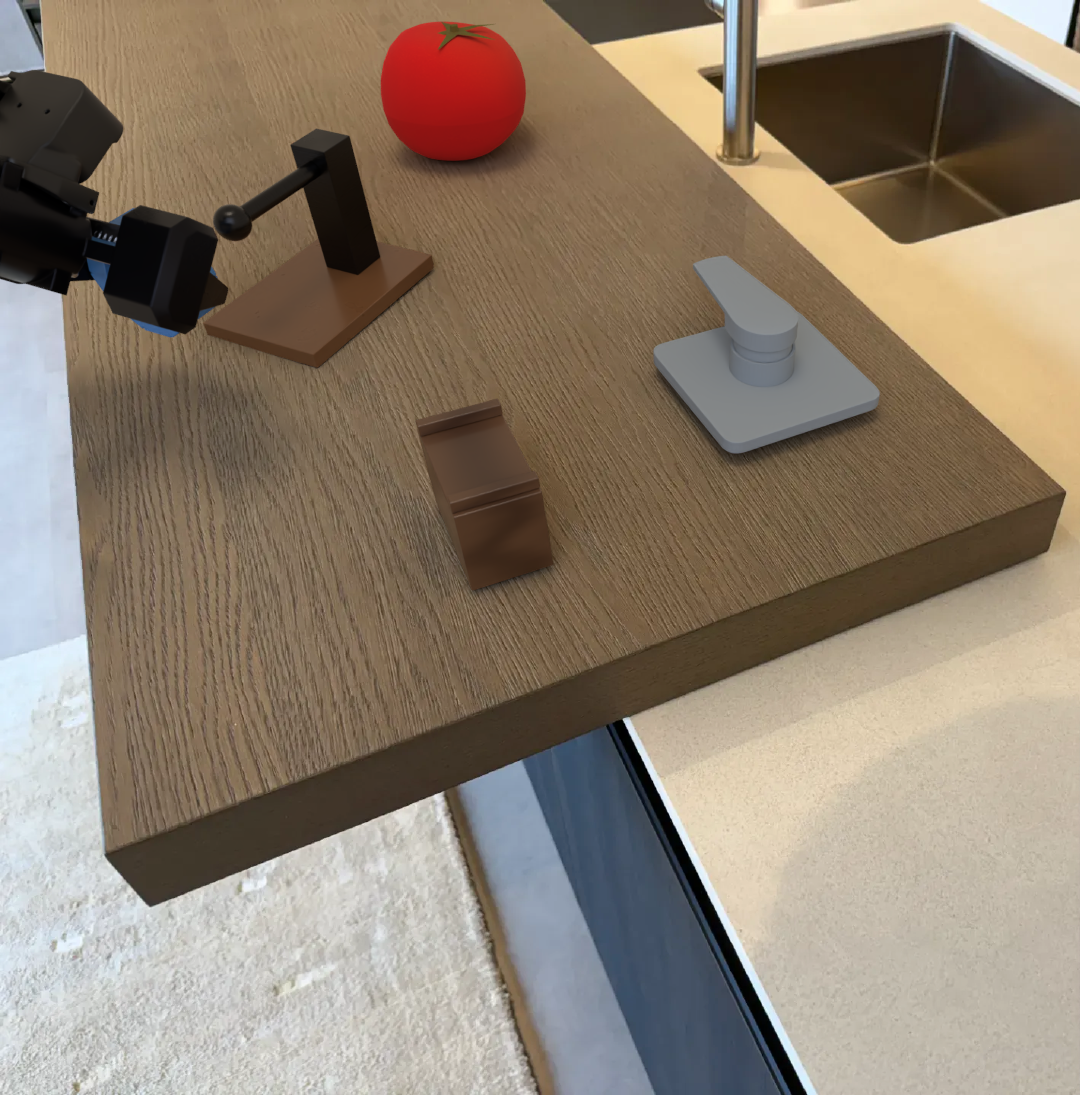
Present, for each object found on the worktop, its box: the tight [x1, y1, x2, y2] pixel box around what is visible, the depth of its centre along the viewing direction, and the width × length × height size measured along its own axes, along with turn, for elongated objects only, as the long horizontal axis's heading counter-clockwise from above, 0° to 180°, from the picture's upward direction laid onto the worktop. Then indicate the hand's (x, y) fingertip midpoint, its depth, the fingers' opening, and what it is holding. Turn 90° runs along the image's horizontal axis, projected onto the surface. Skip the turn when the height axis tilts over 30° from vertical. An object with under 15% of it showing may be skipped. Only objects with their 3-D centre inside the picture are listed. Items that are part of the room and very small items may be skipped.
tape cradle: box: [414, 398, 554, 591], centre depth 61 cm, size 5×8×7 cm, turn 25°
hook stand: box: [202, 128, 435, 368], centre depth 77 cm, size 15×10×11 cm, turn 158°
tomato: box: [380, 21, 527, 162], centre depth 95 cm, size 12×14×11 cm
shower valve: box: [652, 255, 881, 454], centre depth 73 cm, size 12×6×15 cm
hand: (177, 282), depth 67 cm, fingers closed on tape roll, 7 cm apart
